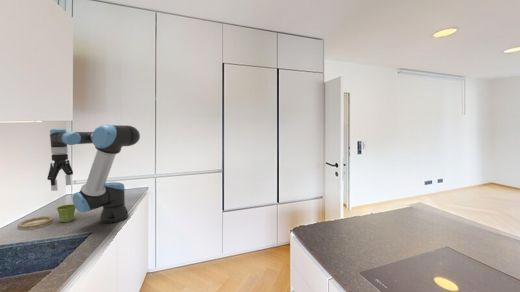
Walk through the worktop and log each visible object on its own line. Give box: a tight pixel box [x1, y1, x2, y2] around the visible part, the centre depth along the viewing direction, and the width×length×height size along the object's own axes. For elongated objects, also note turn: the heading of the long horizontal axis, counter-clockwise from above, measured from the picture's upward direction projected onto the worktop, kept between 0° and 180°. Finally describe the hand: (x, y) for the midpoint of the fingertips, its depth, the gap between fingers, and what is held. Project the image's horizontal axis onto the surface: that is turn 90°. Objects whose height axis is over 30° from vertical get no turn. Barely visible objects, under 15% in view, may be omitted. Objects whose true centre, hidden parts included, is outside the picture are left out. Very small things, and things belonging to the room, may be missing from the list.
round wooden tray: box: [17, 215, 54, 231], centre depth 131 cm, size 14×14×2 cm
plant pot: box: [55, 203, 76, 223], centre depth 137 cm, size 9×9×9 cm
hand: (61, 187), depth 138 cm, fingers open, 13 cm apart
